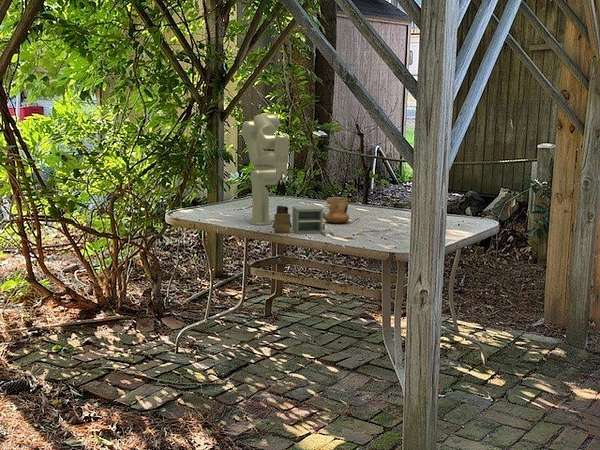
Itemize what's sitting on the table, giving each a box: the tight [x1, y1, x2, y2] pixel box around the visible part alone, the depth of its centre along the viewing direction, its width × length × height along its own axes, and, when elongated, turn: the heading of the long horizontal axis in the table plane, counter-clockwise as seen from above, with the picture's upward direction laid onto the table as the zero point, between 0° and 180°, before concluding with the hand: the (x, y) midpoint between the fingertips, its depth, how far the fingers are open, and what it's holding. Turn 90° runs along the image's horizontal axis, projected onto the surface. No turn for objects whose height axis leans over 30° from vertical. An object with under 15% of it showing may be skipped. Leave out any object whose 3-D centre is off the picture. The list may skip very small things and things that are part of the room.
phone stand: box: [272, 205, 292, 229], centre depth 424 cm, size 9×6×12 cm, turn 135°
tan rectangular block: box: [273, 213, 291, 234], centre depth 406 cm, size 4×8×10 cm, turn 101°
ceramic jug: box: [324, 196, 350, 224], centre depth 444 cm, size 18×14×14 cm
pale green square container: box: [291, 205, 335, 237], centre depth 407 cm, size 22×18×13 cm
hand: (281, 191), depth 404 cm, fingers open, 9 cm apart
